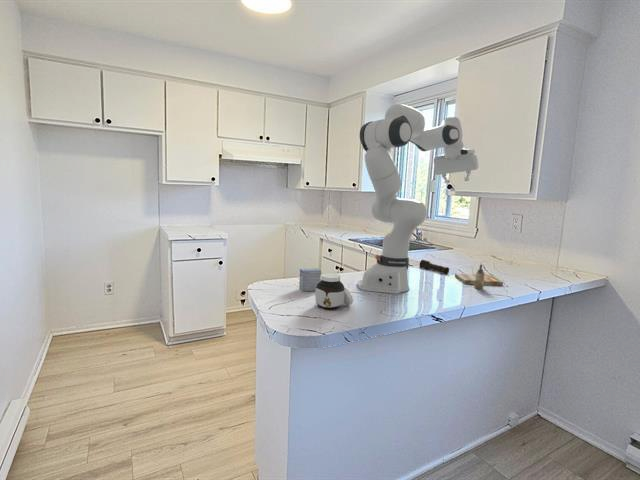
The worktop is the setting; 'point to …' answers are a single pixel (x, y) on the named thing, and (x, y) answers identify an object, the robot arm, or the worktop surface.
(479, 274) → the brown bottle
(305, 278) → the medicine box
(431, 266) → the hand tool
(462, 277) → the board
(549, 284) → the worktop surface
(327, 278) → the spread jar
